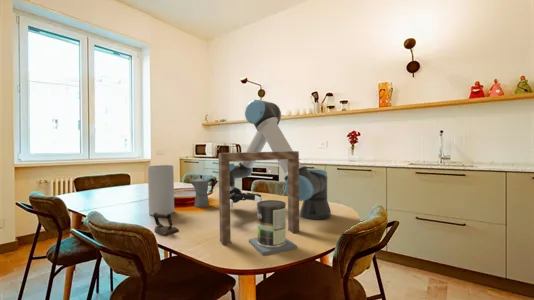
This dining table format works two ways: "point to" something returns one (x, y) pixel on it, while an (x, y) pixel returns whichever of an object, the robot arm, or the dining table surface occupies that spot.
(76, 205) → the dining table surface
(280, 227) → the coffee can
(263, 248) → the slate mat
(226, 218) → the walnut archway
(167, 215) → the clothes iron
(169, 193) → the cylinder vase
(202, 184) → the coffeepot
